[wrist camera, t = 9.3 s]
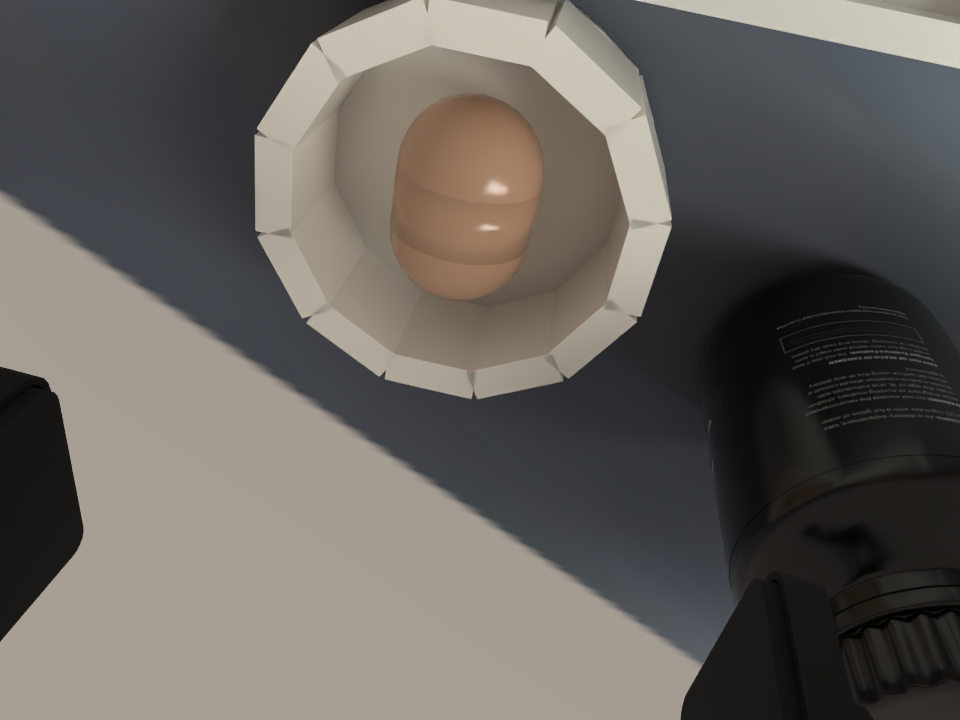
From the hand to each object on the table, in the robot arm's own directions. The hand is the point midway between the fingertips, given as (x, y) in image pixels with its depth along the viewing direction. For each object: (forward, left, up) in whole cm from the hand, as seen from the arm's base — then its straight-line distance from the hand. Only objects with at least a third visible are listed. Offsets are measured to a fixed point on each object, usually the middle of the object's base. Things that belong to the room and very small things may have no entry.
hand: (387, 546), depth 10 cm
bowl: (+1, 0, -13) cm, 13 cm away
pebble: (+1, 0, -13) cm, 13 cm away
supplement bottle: (-10, +3, -14) cm, 17 cm away
